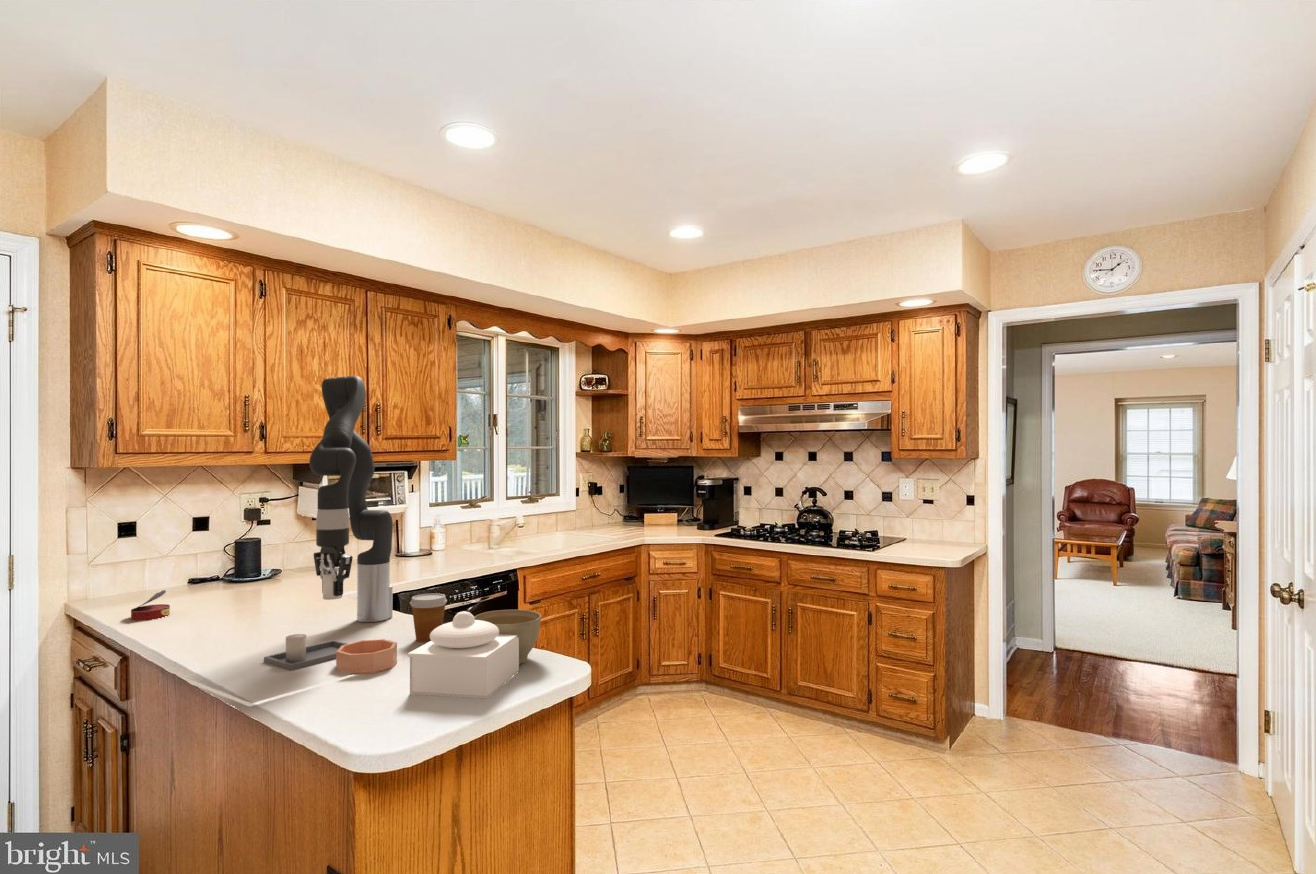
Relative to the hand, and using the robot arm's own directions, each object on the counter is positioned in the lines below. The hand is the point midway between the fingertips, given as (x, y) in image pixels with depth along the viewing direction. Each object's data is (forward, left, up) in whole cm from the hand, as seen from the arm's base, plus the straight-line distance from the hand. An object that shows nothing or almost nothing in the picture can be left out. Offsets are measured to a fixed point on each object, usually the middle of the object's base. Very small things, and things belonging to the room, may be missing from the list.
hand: (332, 594), depth 176 cm
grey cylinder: (+9, -1, -15) cm, 17 cm away
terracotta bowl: (+1, +15, -15) cm, 22 cm away
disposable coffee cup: (-21, +10, -15) cm, 28 cm away
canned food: (+8, -87, -16) cm, 89 cm away
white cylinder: (0, 0, -1) cm, 1 cm away
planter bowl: (-20, +41, -15) cm, 48 cm away
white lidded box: (-4, +45, -16) cm, 48 cm away
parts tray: (+5, -1, -15) cm, 16 cm away
